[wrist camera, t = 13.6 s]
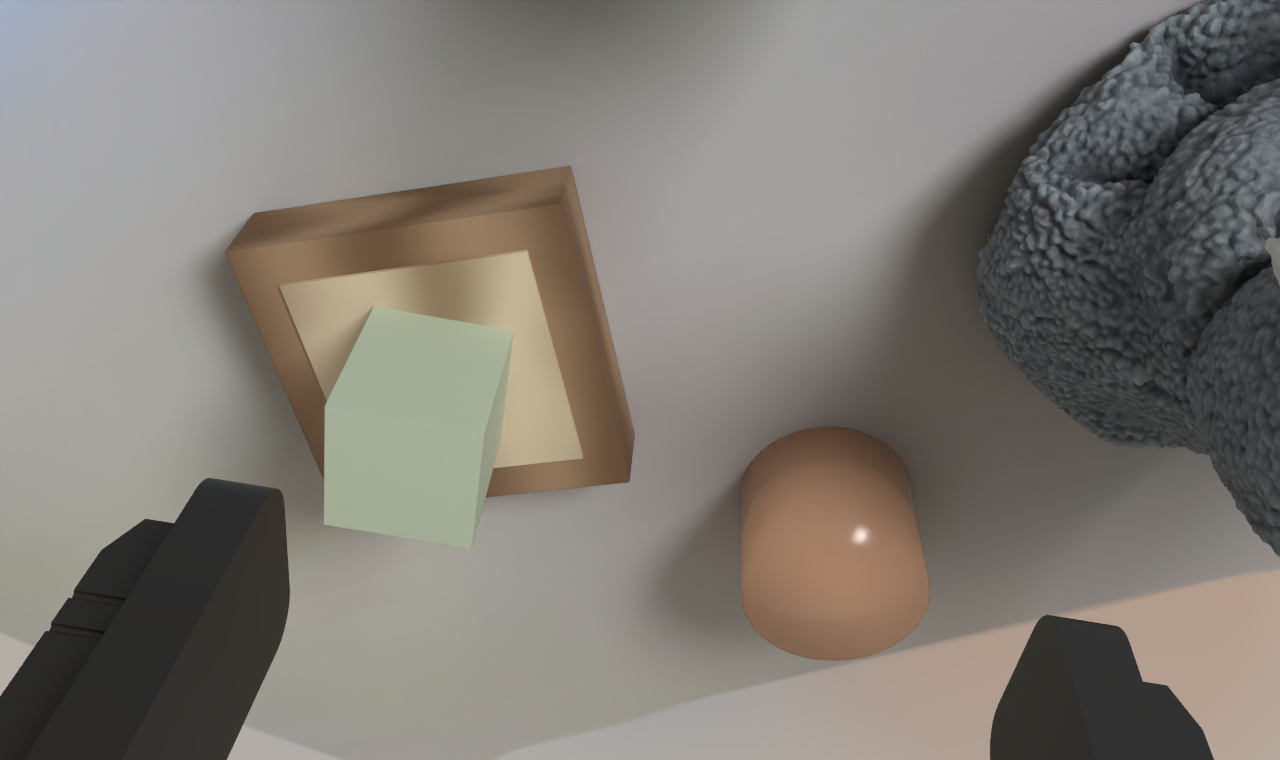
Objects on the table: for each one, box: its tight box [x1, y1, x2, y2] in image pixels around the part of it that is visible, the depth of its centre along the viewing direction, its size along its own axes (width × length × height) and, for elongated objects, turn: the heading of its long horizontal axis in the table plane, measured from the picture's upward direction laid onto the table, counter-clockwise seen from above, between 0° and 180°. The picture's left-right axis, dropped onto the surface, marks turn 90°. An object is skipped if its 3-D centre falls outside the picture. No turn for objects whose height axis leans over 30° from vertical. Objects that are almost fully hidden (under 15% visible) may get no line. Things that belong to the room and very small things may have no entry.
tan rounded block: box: [741, 427, 930, 661], centre depth 46 cm, size 7×7×6 cm
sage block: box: [324, 306, 514, 549], centre depth 40 cm, size 5×5×6 cm
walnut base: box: [225, 166, 635, 497], centre depth 44 cm, size 12×12×3 cm
